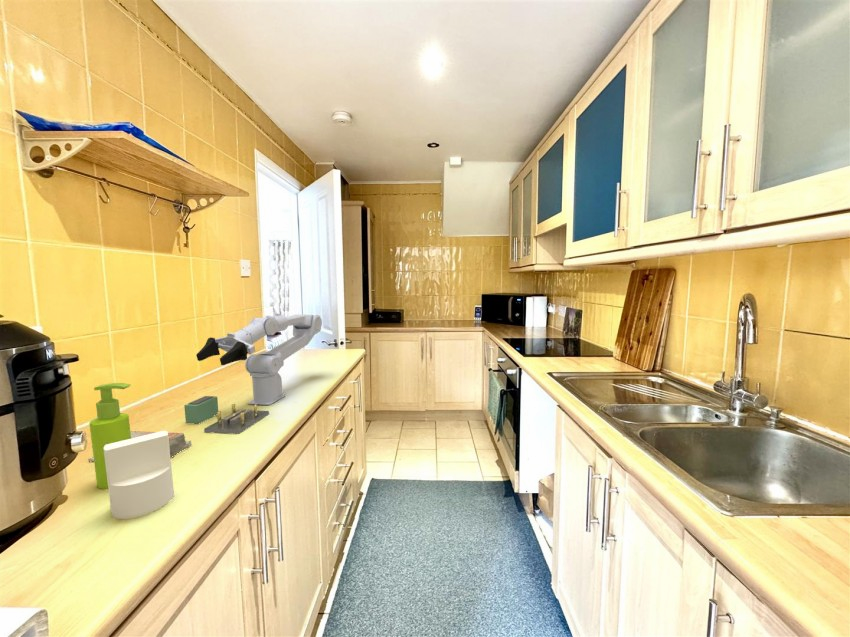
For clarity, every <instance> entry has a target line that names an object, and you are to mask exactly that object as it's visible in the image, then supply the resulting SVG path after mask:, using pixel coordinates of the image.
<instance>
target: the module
mask: <svg viewBox="0 0 850 637" xmlns="http://www.w3.org/2000/svg"><path fill="white" fill-rule="evenodd" d="M218 401H219V400H218V396H214V395H213V396H212V395H204V396H201V397H199V398H198V399H195V400H193V401H190V402H188V403H186V404H184V415H185V424H186V423H194V424H193V425H200V424H201V422H202V423H204V422H206V421H207V419H208V420H209V419H211V418H213V417H215V416H217V415H216V414H217V412H218V411H219V402H218ZM214 415H215V416H214ZM205 420H206V421H205ZM203 421H204V422H203ZM199 423H200V424H199Z"/></svg>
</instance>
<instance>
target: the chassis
mask: <svg viewBox="0 0 850 637" xmlns="http://www.w3.org/2000/svg"><path fill="white" fill-rule="evenodd" d="M268 414H269V415H270V411H269V410H259V409H258V405H257V404H253V409H251V408H249V409H246V408H242V409H238V410H236V404H235V403H232V404H231V413H230V414H228V415H226V416H225V417H223V418H222V411H219V410H218V412H217V415H216V417H217V418H216V419H217V421H216V422H214V423H212V424H211V425H209V426H207V427H204V429H203V430H204V433H207V432H214V433H213V434H228V433H235V434H234V435H239V434H240V432H241V433H243V432H244V431H246V430H247V429H249V428H250V427H252V426H254V425H255V424H256V423H258V422H260V421H261V420H263V419H264V418H266V417H267V416H268ZM265 416H266V417H265ZM257 421H258V422H257ZM254 423H255V424H254ZM251 425H252V426H251ZM248 427H249V428H248ZM246 428H247V429H246ZM245 429H246V430H245ZM243 430H244V431H243ZM237 433H238V434H237Z"/></svg>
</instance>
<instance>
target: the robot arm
mask: <svg viewBox="0 0 850 637" xmlns="http://www.w3.org/2000/svg"><path fill="white" fill-rule="evenodd" d="M322 322H323V320H322V317H321V315H318V314H299V313H298V314H293V315H292V314H291V315H289V316H285V315H283V314H281V313H274V315H272V316H271V315H266V316H264V317H256V318H254V317H253V318H252V319H251V320H250V321H249V323H248V325H246V326H244V327H243V328H241V329H239V330H238V331H236V332H234V333H233V332H227V334H226V336H222V337H218V338H215V337H211V336H210V337H207V339H206V342H205V344H204V345H203V347H202V348H201V349H200V350H199V351H198V352H197V353H196V358H197V361H198V362H202V361H204V360H206V359H208V358H211V357H215V356H219V355H221V354H220V350H223V351H224V352H226V353H224V354H223V355H222V356H221V357H220V358H219V361H220V362H219V363H220V366H226V365H228V364H232V363H234V362H239V361H245V362H244V367H245V370H246V372H247V373H248V374H249V376H250V377H251V380H252V394H253V399H252V400H250V401H248V402H247V405H257V406H258V405H261V406H262V405H266V406H270V405H272V404H274V403H275V402H277V401H279V400H281V399H282V398H284V397H285V396H286V394H284V393H283V381H282V376H281V375H280V374H279V372H280V369H281V368H282V367H284V363H285V362H284V361H286V359H288V358H289V357H291V356H292V355H294V354H296V353H297V352H298V351H300V350H301V349H303V348H305V347H306V346H308V345H309V344H310V342H311V341H312V340H313V338H314V337H315V335H316V334H318V333H320V332H321V329H322V324H323V323H322ZM290 326H292V337H291V338H289V339H287V340H286V341H284V342H282V343H280V344H279V345H277V346H275V347H274V348H272V349H270V350H267V351H263V352H259V353H257V354H254V353H255V352H256V347H255V345H254V344H255V343H256V342H258V341H260V340H261V339H263V338H265V337H266V336H274V335H275V334H276V333H279V332H282V331H285V330H287V329H288V327H290Z"/></svg>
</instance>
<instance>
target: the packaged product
mask: <svg viewBox="0 0 850 637" xmlns="http://www.w3.org/2000/svg"><path fill="white" fill-rule="evenodd" d="M156 432H157V431H137V430H135V431H133V430H130V433H131V438H135V437H140V436H144V435H148V434H152V433H156ZM168 438H169V448H170V458H171V457H172V456H174V455H176V454H177V453H179V452H180V451H182V450H184V449H186V448H187V447H189V446H190V447H192V446H191V445H192V441H191V440H186V436H185V433H180V432H168ZM190 447H189V448H190ZM187 449H188V448H187ZM187 449H186V450H187ZM184 451H185V450H184ZM182 452H183V451H182ZM179 454H180V453H179ZM177 455H178V454H177ZM177 455H176V456H177ZM174 457H175V456H174ZM172 458H173V457H172ZM172 458H171V459H172ZM87 460H88V462H89V461H94V456H93V455H92V457H91V458H90V457H89V458H87Z"/></svg>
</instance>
